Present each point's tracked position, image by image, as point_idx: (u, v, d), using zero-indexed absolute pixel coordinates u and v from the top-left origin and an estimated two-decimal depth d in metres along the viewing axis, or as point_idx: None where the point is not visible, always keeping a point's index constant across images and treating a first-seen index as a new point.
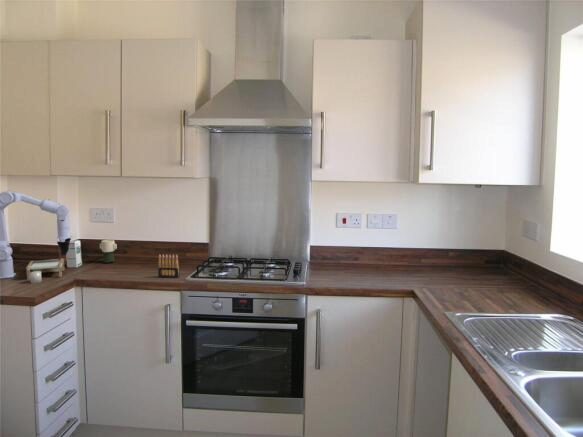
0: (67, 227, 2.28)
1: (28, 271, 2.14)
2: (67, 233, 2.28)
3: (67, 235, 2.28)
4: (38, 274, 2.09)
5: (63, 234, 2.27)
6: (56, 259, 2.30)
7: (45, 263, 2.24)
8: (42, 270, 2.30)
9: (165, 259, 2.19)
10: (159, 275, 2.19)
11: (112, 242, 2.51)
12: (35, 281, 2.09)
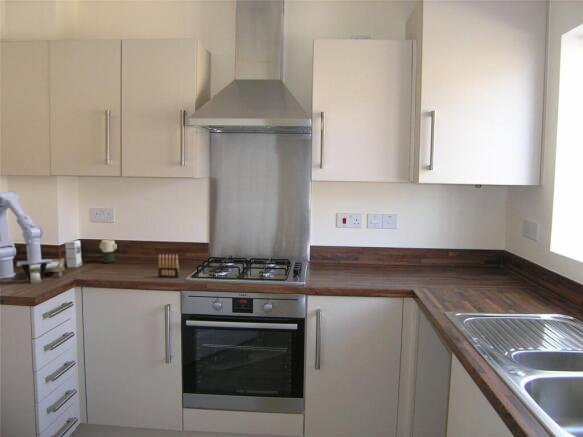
0: (32, 252, 2.06)
1: None
2: (28, 258, 2.07)
3: (28, 260, 2.07)
4: (38, 274, 2.09)
5: (27, 258, 2.08)
6: (56, 259, 2.30)
7: None
8: None
9: (165, 259, 2.19)
10: (159, 275, 2.19)
11: (112, 242, 2.51)
12: (35, 281, 2.09)
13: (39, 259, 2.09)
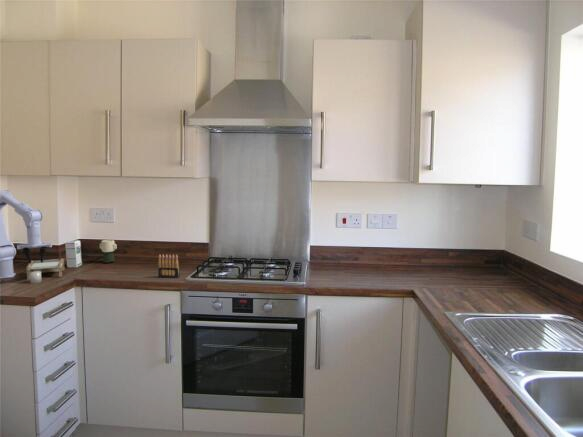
0: (33, 235, 2.07)
1: (28, 271, 2.14)
2: (28, 241, 2.07)
3: (28, 243, 2.07)
4: (38, 274, 2.09)
5: None
6: (56, 259, 2.30)
7: (45, 263, 2.24)
8: (42, 270, 2.30)
9: (165, 259, 2.19)
10: (159, 275, 2.19)
11: (112, 242, 2.51)
12: (35, 281, 2.09)
13: (39, 242, 2.09)
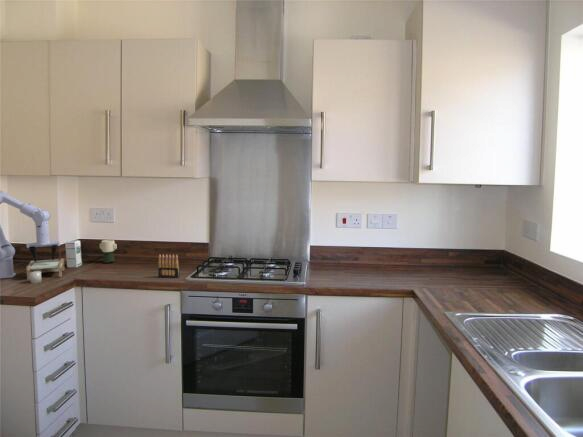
0: (44, 233, 2.17)
1: (28, 271, 2.14)
2: (38, 240, 2.16)
3: (38, 242, 2.16)
4: (38, 274, 2.09)
5: None
6: (56, 259, 2.30)
7: (45, 263, 2.24)
8: (42, 270, 2.30)
9: (165, 259, 2.19)
10: (159, 275, 2.19)
11: (112, 242, 2.51)
12: (35, 281, 2.09)
13: (48, 241, 2.18)
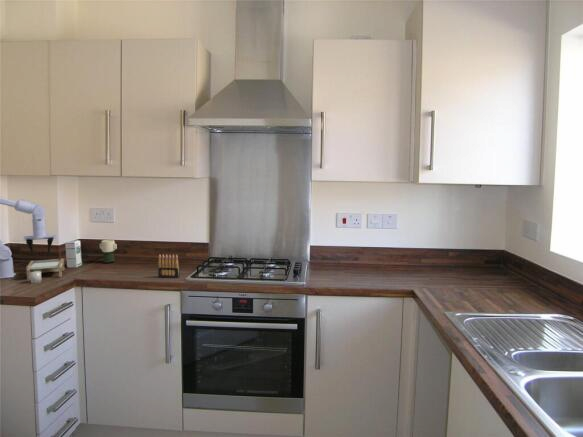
0: (44, 226, 2.28)
1: (28, 271, 2.14)
2: (34, 233, 2.26)
3: (34, 235, 2.26)
4: (38, 274, 2.09)
5: (33, 233, 2.27)
6: (56, 259, 2.30)
7: (45, 263, 2.24)
8: (42, 270, 2.30)
9: (165, 259, 2.19)
10: (159, 275, 2.19)
11: (112, 242, 2.51)
12: (35, 281, 2.09)
13: (44, 234, 2.28)
